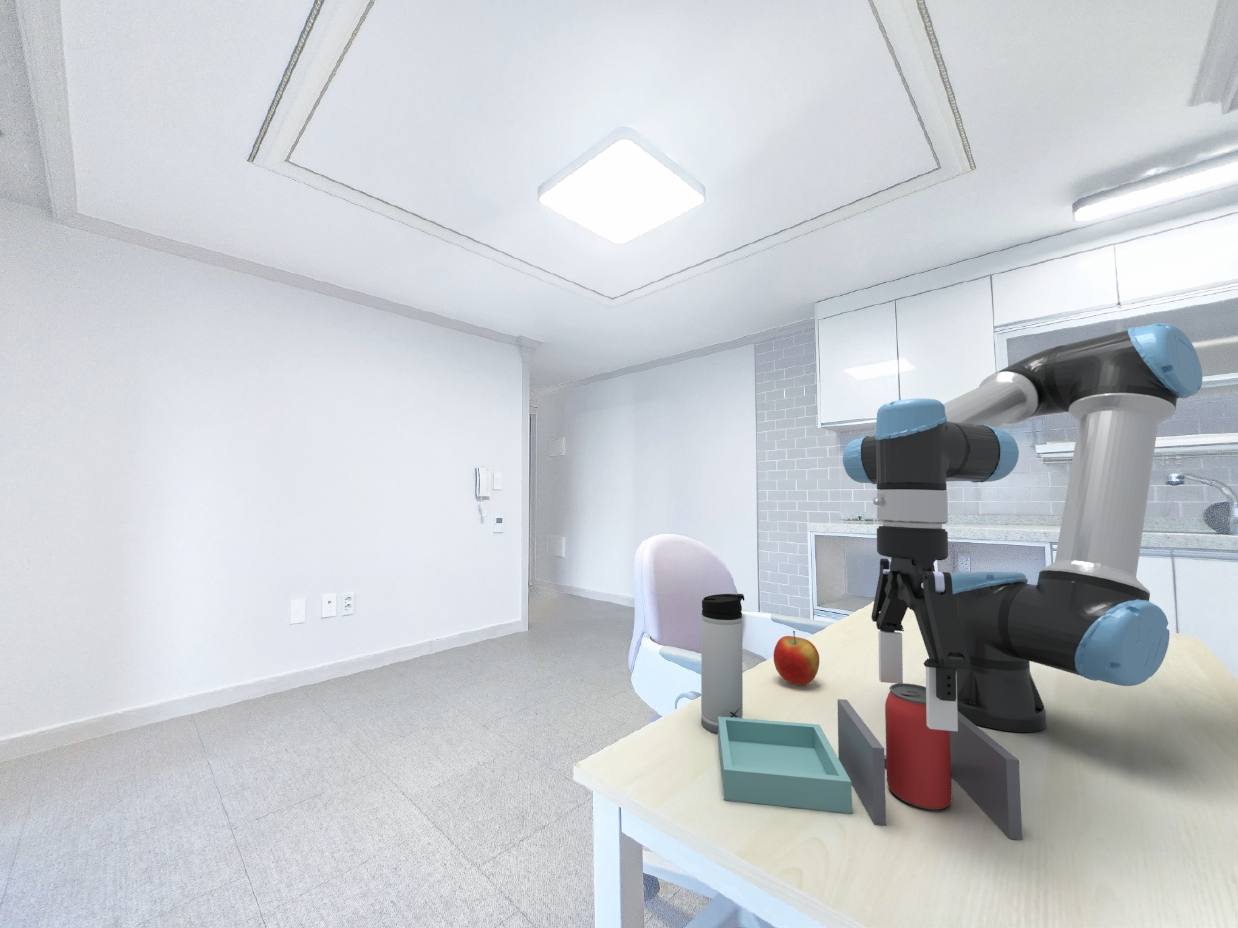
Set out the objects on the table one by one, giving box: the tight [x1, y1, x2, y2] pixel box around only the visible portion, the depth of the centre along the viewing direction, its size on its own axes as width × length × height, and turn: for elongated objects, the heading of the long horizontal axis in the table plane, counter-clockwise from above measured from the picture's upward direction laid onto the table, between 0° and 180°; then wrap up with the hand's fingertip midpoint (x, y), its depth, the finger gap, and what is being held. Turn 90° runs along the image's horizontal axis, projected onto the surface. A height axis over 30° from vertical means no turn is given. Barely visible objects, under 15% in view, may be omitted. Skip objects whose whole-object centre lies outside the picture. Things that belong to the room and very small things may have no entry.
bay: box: [837, 698, 1023, 841], centre depth 58 cm, size 14×13×8 cm
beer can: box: [884, 682, 953, 811], centre depth 58 cm, size 7×7×12 cm
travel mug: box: [700, 593, 745, 734], centre depth 76 cm, size 6×7×20 cm
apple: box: [773, 630, 820, 687], centre depth 93 cm, size 8×8×10 cm
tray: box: [717, 716, 853, 814], centre depth 62 cm, size 14×14×3 cm
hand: (913, 702), depth 58 cm, fingers open, 13 cm apart
